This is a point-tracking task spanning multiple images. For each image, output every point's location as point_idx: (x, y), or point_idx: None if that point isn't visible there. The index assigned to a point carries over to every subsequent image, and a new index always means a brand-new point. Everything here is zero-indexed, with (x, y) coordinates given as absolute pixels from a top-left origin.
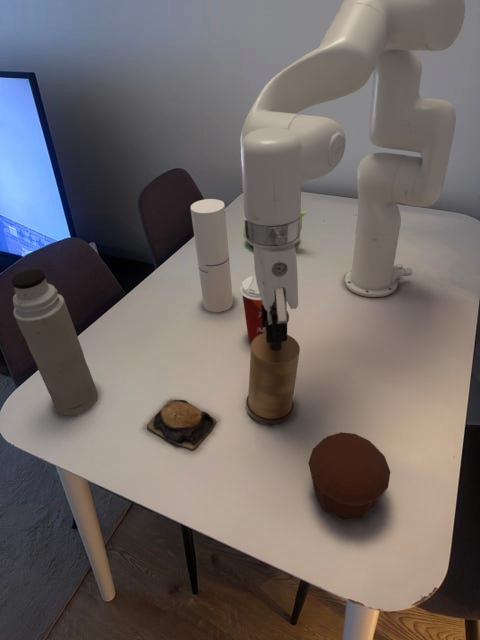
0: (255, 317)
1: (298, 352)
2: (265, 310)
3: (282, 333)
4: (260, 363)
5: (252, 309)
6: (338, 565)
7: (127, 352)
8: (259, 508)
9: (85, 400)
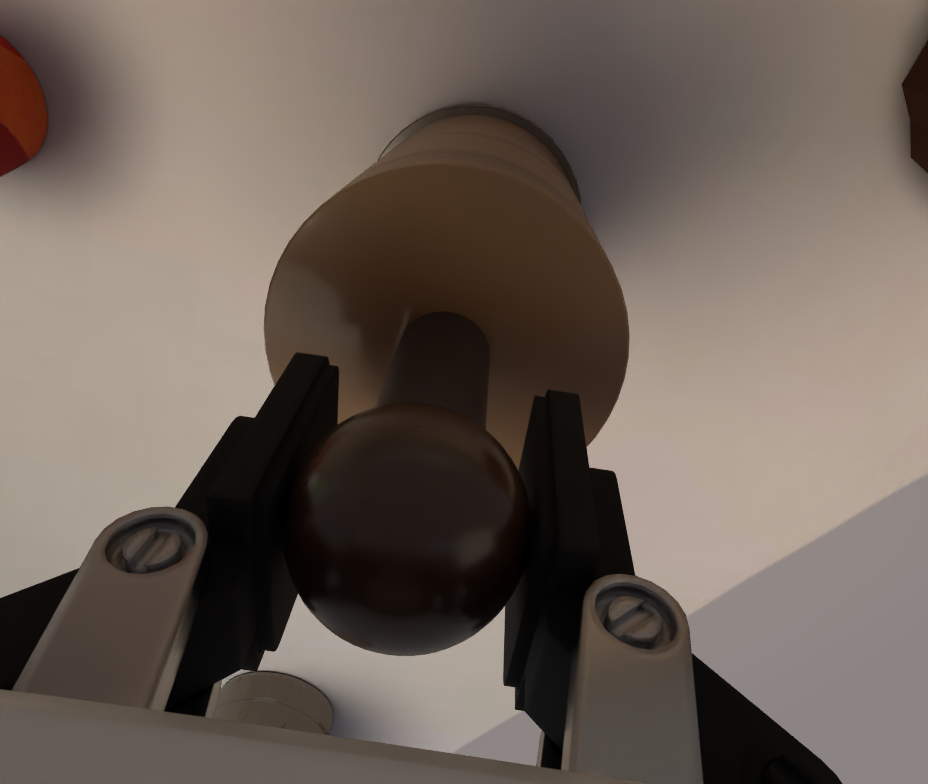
0: None
1: (553, 206)
2: (281, 610)
3: (621, 515)
4: None
5: None
6: None
7: None
8: (875, 387)
9: (310, 723)
